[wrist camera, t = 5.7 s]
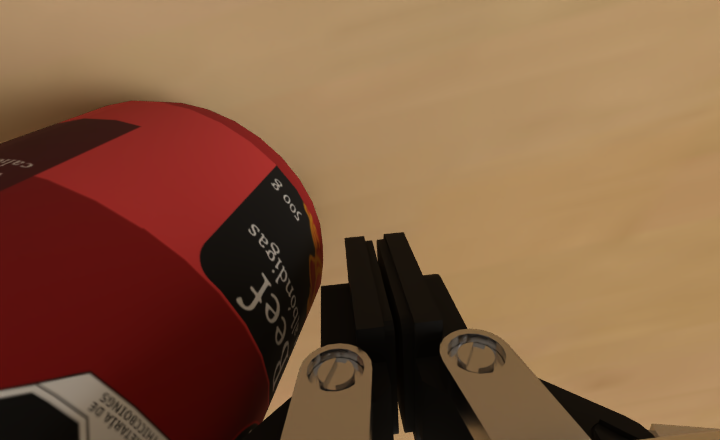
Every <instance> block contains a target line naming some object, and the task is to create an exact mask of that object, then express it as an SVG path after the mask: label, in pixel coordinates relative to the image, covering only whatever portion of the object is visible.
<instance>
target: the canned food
mask: <svg viewBox="0 0 720 440" xmlns="http://www.w3.org/2000/svg"><path fill="white" fill-rule="evenodd" d="M322 268H323V244H322V236H321V228H320V223H319V220H318V217H317V214H316V211H315V208H314V206H313V203H312V201H311V199H310V197H309V195H308V194H307V192H306V190H305V188H304V187H303V185H302V183H301V181H300V180H299V178H298V177H297V176H296V175H295V173H294V172H293V171H292V170H291V168H290V167H289V166H288V165H287V163H286V162H285V161H284V160H283V159H282V157H281V156H280V155H278V154H277V153H276V152H275V151H274V150H273V149H272V148H271V147H269V146H268V145H267V144H266V143H265V142H264V141H263V140H262V139H261V138H259V137H258V136H256V135H255V134H253V133H252V132H250V131H249V130H247V129H246V128H244V127H243V126H241V125H239V124H238V123H236V122H235V121H233V120H230V119H228V118H226V117H224V116H221V115H219V114H217V113H215V112H212V111H210V110H208V109H204V108H200V107H196V106H192V105H187V104H183V103H171V102H149V101H128V102H123V103H118V104H113V105H108V106H105V107H102V108H99V109H96V110H93V111H91V112H88V113H85V114H82V115H79V116H77V117H74V118H71V119H68V120H65V121H63V122H60V123H57V124H54V125H52V126H49V127H46V128H43V129H40V130H38V131H35V132H32V133H29V134H26V135H24V136H21V137H18V138H15V139H12V140H10V141H7V142H4V143H1V144H0V440H242V439H243V438H244V437H245V436H246V435H248V434H249V433H250V432H251V431H252V430H253V429H255V428H256V427H257V426H258V425H259V424H260V423H262V421H263V419H264V417H265V414H266V412H267V410H268V407H269V405H270V403H271V400H272V398H273V396H274V393H275V391H276V389H277V386H278V384H279V381H280V379H281V377H282V374H283V372H284V370H285V367H286V365H287V363H288V360H289V358H290V356H291V353H292V351H293V349H294V346H295V344H296V342H297V339H298V337H299V335H300V332H301V330H302V327H303V325H304V323H305V320H306V318H307V316H308V313H309V311H310V309H311V306H312V304H313V302H314V299H315V297H316V294H317V292H318V289H319V287H320V284H321V277H322Z"/></svg>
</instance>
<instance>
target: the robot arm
mask: <svg viewBox="0 0 720 440" xmlns="http://www.w3.org/2000/svg"><path fill="white" fill-rule="evenodd" d="M345 248H346V259H347V270H348V281H349V283H347V284H337V285H328V286H321V348H318V349H317V350H315V351H313V352H312V353H310V354H309V355H308V356H307V357H306V358H305V359H304V360H303V362H302V364H301V367H300V369H299V372H298V376H297V380H296V383H295V387H294V391H293V395H292V397H291V398H289V399H288V400H287V401H286V402H285V403H284V404H282V405H281V406H280V407H279V408H278V409H277V410H276V411H274V412H273V413H272V414H271V415H270V416H269V417H267V418H266V419H265V420H264V421H263V422H262V423H260V424H259V425H258V426H257V427H256V428H255V429H253V430H252V431H251V432H250V433H249V434H248V435H246V436H245V437H244V438H243V439H242V440H394V438H393V434H399V424H398V405H399V410H400V414H401V419H402V424H403V428H404V432H405V433H407V432H413V434H414V439H415V440H720V429H714V428H702V427H689V426H676V425H663V424H651V427H650V430H647V429H645V428H644V427H643V426H642V425H640V424H639V423H637V422H635V421H633V420H631V419H630V418H628V417H626V416H624V415H621V414H619V413H617V412H615V411H612V410H610V409H608V408H605V407H603V406H601V405H598V404H596V403H594V402H592V401H589V400H587V399H585V398H582V397H580V396H578V395H576V394H573V393H571V392H569V391H566V390H564V389H562V388H559V387H557V386H555V385H553V384H550V383H548V382H546V381H543V380H541V379H539V378H537V377H536V375H535V374H534V373H533V372H532V371H531V370H530V369H529V367H528V366H527V365H526V364H525V363H524V362H523V360H522V359H521V358H520V357H519V356H518V355H517V354H516V352H515V351H514V350H513V349H512V348H511V347H510V346H509V344H507V343H506V342H505V341H504V340H503V339H502V338H500V337H498V336H497V335H495V334H493V333H490V332H487V331H484V330H479V329H467V327H466V325H465V323H464V321H463V319H462V317H461V315H460V313H459V312H458V310H457V308H456V306H455V304H454V302H453V300H452V298H451V296H450V294H449V292H448V290H447V288H446V287H445V285H444V283H443V281H442V279H441V277H440V276H439V274H432V275H422V272H421V270H420V268H419V266H418V263H417V261H416V259H415V257H414V254H413V252H412V250H411V248H410V246H409V243H408V241H407V239H406V237H405V234H404V233H403V232H401V233H391V234H384V238H383V239H381V240H377V257H378V261H377V257H376V254H375V250H374V246H373V242H372V241H365V239H364V236H360V237H350V238H345Z"/></svg>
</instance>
